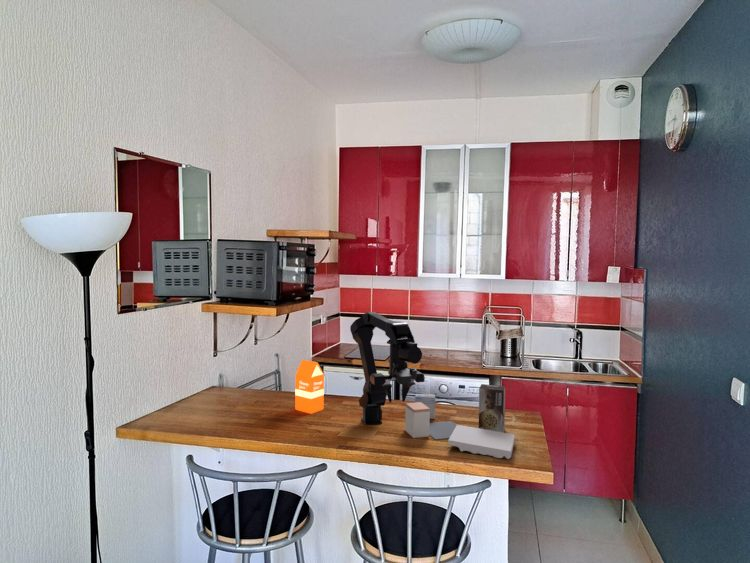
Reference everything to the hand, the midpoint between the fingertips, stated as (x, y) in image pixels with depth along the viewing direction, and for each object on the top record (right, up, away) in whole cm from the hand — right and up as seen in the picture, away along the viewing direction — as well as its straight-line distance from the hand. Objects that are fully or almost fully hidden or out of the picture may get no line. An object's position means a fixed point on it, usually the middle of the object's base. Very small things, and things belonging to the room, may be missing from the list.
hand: (396, 401), depth 181 cm
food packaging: (+28, -13, -9) cm, 32 cm away
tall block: (+7, -12, +3) cm, 15 cm away
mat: (+17, -12, +6) cm, 22 cm away
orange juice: (-35, -10, +28) cm, 46 cm away
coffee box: (+35, -12, +8) cm, 38 cm away
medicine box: (+12, -11, +21) cm, 27 cm away
